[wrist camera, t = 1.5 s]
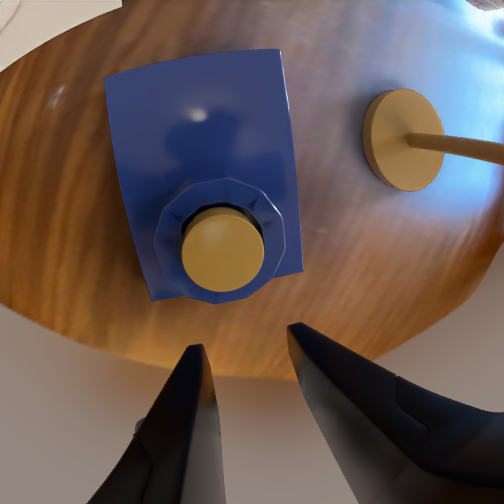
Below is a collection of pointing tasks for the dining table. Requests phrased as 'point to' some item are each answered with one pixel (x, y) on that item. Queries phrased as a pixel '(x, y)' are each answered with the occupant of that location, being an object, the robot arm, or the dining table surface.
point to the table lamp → (414, 141)
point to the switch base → (205, 161)
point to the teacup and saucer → (42, 22)
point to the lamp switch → (222, 249)
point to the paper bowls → (487, 4)
